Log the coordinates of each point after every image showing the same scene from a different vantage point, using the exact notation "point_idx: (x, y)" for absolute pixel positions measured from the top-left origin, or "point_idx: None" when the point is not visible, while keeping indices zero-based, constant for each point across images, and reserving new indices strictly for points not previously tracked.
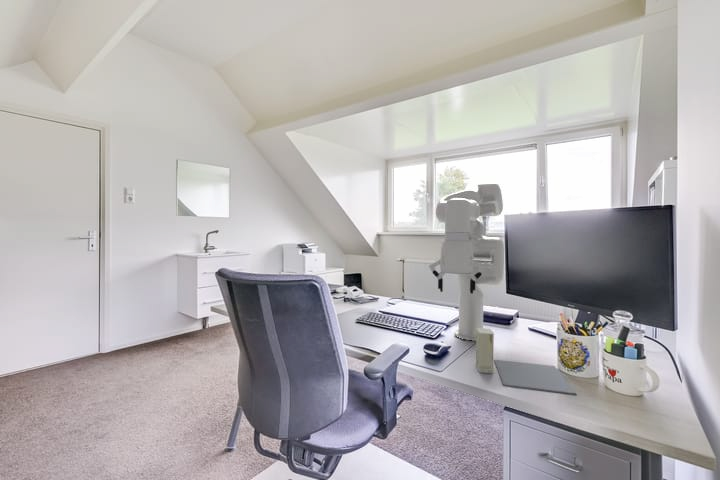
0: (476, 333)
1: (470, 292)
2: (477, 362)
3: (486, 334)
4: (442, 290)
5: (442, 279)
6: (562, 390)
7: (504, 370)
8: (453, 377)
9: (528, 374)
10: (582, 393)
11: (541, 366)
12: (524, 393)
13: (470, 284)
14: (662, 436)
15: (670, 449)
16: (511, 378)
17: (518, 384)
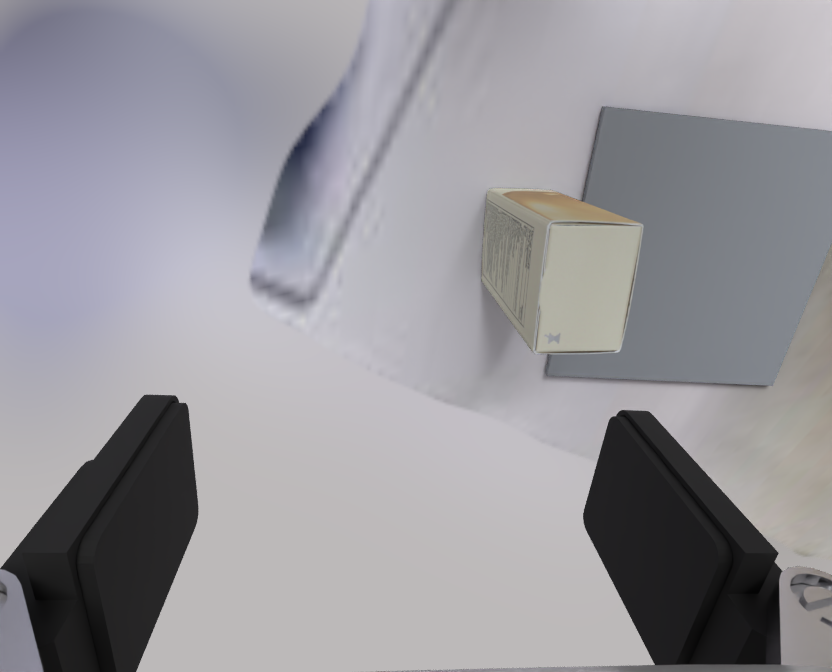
0: (534, 232)
1: (587, 512)
2: (489, 251)
3: (574, 353)
4: (192, 532)
5: (106, 651)
6: (738, 376)
7: None
8: (362, 347)
9: (690, 266)
10: (797, 368)
11: (805, 158)
12: (597, 410)
13: (645, 588)
14: (821, 530)
15: None
16: None
17: (603, 366)
